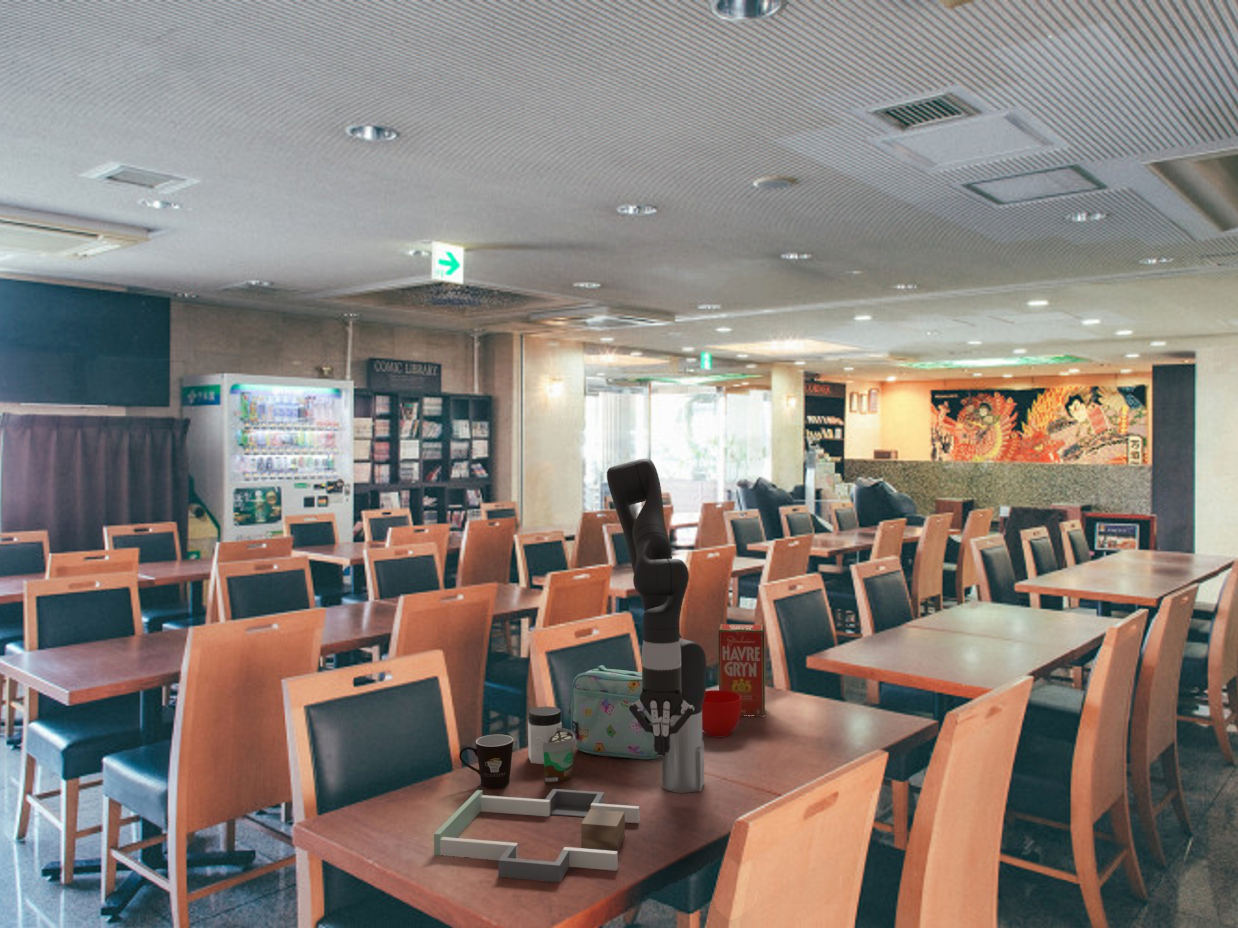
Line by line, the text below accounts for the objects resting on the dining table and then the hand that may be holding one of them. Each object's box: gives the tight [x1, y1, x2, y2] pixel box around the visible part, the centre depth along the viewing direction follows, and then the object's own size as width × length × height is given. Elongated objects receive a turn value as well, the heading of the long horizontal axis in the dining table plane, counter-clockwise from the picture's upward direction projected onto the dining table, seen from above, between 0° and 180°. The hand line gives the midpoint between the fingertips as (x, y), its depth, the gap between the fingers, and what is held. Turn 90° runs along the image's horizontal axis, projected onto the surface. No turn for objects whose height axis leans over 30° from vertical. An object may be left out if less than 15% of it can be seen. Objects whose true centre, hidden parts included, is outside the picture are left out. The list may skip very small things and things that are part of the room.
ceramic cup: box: [702, 689, 741, 738], centre depth 241 cm, size 13×17×10 cm
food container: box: [543, 727, 577, 786], centre depth 208 cm, size 12×6×10 cm, turn 168°
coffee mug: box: [458, 734, 514, 790], centre depth 205 cm, size 12×9×10 cm
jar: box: [527, 706, 563, 765], centre depth 221 cm, size 9×8×12 cm
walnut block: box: [580, 809, 626, 852], centre depth 173 cm, size 7×7×5 cm
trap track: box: [433, 788, 640, 883], centre depth 175 cm, size 35×35×4 cm
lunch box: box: [567, 664, 662, 760], centre depth 225 cm, size 27×10×21 cm, turn 68°
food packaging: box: [718, 623, 766, 717], centre depth 260 cm, size 13×9×25 cm
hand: (662, 753), depth 170 cm, fingers closed
